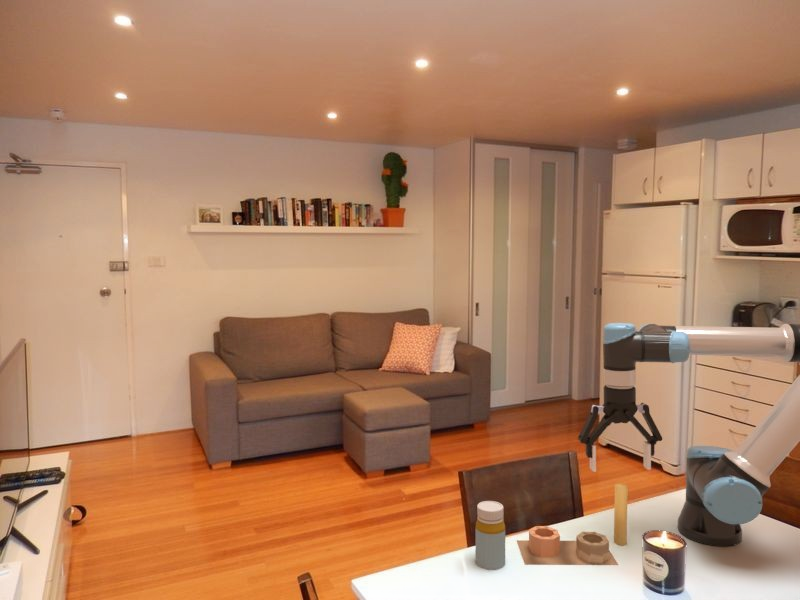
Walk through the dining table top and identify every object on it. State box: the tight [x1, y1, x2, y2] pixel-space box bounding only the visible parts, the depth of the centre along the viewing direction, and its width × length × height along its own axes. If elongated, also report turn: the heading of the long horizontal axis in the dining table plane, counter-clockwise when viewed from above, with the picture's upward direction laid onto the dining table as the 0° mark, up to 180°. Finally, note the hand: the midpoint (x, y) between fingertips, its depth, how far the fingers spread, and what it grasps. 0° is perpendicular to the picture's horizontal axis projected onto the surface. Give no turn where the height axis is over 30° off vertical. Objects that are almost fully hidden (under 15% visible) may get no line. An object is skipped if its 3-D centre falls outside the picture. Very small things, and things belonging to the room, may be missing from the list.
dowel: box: [613, 483, 629, 547], centre depth 152 cm, size 3×3×16 cm
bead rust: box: [528, 525, 561, 557], centre depth 149 cm, size 7×7×4 cm
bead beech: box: [575, 531, 610, 564], centre depth 145 cm, size 7×7×4 cm
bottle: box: [474, 500, 506, 571], centre depth 143 cm, size 7×7×15 cm
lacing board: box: [516, 539, 619, 566], centre depth 148 cm, size 22×12×1 cm, turn 88°
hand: (620, 469), depth 150 cm, fingers open, 13 cm apart
